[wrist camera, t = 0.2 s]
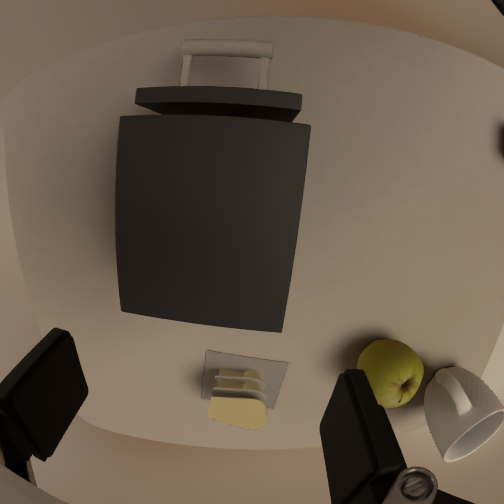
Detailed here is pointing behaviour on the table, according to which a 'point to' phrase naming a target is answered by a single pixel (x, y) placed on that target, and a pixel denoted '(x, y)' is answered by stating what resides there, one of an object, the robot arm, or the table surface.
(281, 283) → the dark grey box
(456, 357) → the table surface
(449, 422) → the mug
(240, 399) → the stacked layers on plate
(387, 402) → the apple
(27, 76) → the table surface
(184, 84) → the drawer
